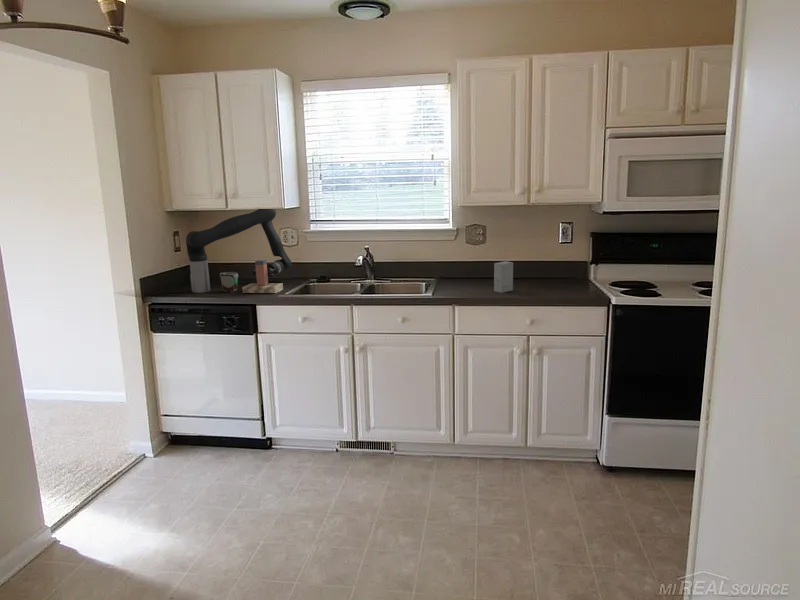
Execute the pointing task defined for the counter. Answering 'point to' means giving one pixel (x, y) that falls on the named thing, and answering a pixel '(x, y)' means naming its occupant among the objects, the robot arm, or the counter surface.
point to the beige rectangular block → (263, 288)
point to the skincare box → (503, 276)
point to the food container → (229, 281)
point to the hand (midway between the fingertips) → (260, 273)
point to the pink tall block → (261, 272)
